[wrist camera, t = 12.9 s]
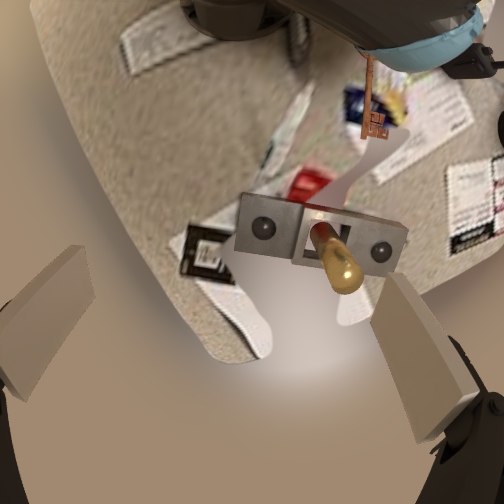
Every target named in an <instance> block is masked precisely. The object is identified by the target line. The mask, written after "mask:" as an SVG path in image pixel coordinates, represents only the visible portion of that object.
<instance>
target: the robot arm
mask: <svg viewBox="0 0 504 504" xmlns="http://www.w3.org/2000/svg"><path fill="white" fill-rule="evenodd" d="M479 1H481V0H180V4H181V8H182V11H183V13H184V14H185V16H186V17H187V19H188V20H189V22H190V23H191V24H192V25H193V26H194V27H195V28H196V29H197V30H199V31H200V32H202V33H204V34H206V35H208V36H211V37H213V38H217V39H221V40H228V41H245V40H252V39H256V38H260V37H263V36H266V35H268V34H270V33H272V32H274V31H276V30H277V29H279V28H280V27H281V26H283V25H284V24H285V23H286V22H287V21H288V19H289V18H290V17H291V15H292V13H293V11H295V12H297V13H299V14H301V15H303V16H305V17H307V18H309V19H311V20H313V21H315V22H317V23H318V24H320V25H322V26H324V27H326V28H327V29H329V30H331V31H333V32H334V33H336V34H338V35H339V36H341V37H342V38H344V39H346V40H347V41H349V42H350V43H352V44H353V45H354V46H355V48H357V49H358V50H359V51H361V52H363V53H367V54H370V55H371V56H373V57H374V58H376V59H377V60H379V61H380V62H382V63H383V64H384V65H386V66H387V67H389V68H391V69H393V70H395V71H398V72H407V73H417V72H423V71H427V70H431V69H433V68H436V67H438V66H441V65H443V64H445V63H447V62H449V61H451V60H452V59H454V58H455V57H457V56H458V55H460V54H461V53H463V52H464V51H465V50H466V49H467V48H468V47H469V46H470V45H471V44H472V43H473V42H472V39H473V38H475V37H477V36H479V34H480V32H481V30H482V27H483V17H482V14H481V13H480V9H479V8H478V6H477V5H476V4H477V3H478V2H479ZM94 299H95V295H94V291H93V287H92V282H91V278H90V273H89V269H88V264H87V259H86V253H85V248H84V246H76V245H71V246H69V247H68V248H67V249H66V250H65V251H64V252H63V253H61V254H60V255H59V256H58V257H57V258H56V259H54V260H53V261H52V262H51V263H50V264H49V265H48V266H47V267H46V268H44V269H43V270H42V271H41V272H40V273H39V274H38V275H37V276H36V277H35V278H34V279H33V280H32V281H31V282H30V283H28V284H27V285H26V286H25V287H24V288H23V289H22V290H21V291H20V292H19V293H18V294H17V296H15V297H14V298H13V299H12V300H10V301H9V302H7V303H6V304H5V305H4V306H3V307H2V308H1V310H0V504H29V502H28V499H27V496H26V493H25V490H24V487H23V484H22V481H21V477H20V474H19V470H18V466H17V462H16V458H15V453H14V449H13V445H12V440H11V433H10V427H9V421H8V413H7V405H6V397H5V393H4V392H3V390H2V389H3V388H4V386H6V387H7V388H8V390H9V391H10V392H11V394H12V395H13V396H15V397H16V398H18V399H20V400H22V401H24V402H27V400H28V398H29V396H30V395H31V393H32V391H33V389H34V388H35V386H36V384H37V383H38V381H39V379H40V378H41V376H42V374H43V373H44V371H45V370H46V368H47V366H48V365H49V363H50V362H51V360H52V358H53V357H54V356H55V354H56V353H57V351H58V349H59V348H60V347H61V345H62V343H63V342H64V341H65V339H66V338H67V336H68V335H69V333H70V332H71V330H72V329H73V328H74V326H75V325H76V323H77V322H78V320H79V319H80V318H81V316H82V315H83V314H84V312H85V311H86V309H87V308H88V307H89V305H90V304H91V303H92V301H93V300H94ZM370 324H371V326H372V328H373V331H374V333H375V335H376V338H377V340H378V342H379V345H380V347H381V349H382V352H383V354H384V357H385V359H386V361H387V364H388V366H389V369H390V371H391V374H392V376H393V379H394V381H395V384H396V387H397V389H398V392H399V394H400V397H401V400H402V403H403V405H404V408H405V411H406V414H407V417H408V419H409V422H410V425H411V428H412V431H413V434H414V437H415V440H416V443H417V445H418V444H422V443H425V442H429V441H432V440H435V438H437V437H438V436H439V435H440V434H441V433H442V432H443V431H444V433H445V435H446V437H445V438H444V439H443V440H442V441H441V442H440V443H439V444H438V445H436V446H435V447H434V448H433V449H432V450H431V452H430V454H433V453H434V452H435V451H436V450H438V449H439V450H438V453H437V454H436V455H435V456H436V459H435V461H434V463H433V466H432V469H431V471H430V473H429V476H428V478H427V480H426V482H425V484H424V487H423V489H422V491H421V493H420V495H419V497H418V499H417V501H416V503H415V504H504V397H503V396H502V395H501V394H499V393H496V392H488V391H487V389H486V387H485V386H484V384H483V382H482V380H481V379H480V377H479V375H478V373H477V372H476V370H475V369H474V367H473V365H472V364H470V360H469V359H468V357H467V356H465V352H464V351H463V349H462V348H461V346H460V344H459V343H458V342H457V341H455V340H454V339H453V338H452V337H451V336H447V335H446V333H445V332H444V330H443V329H442V327H441V326H440V324H439V323H438V321H437V320H436V318H435V317H434V315H433V314H432V312H431V311H430V310H429V308H428V307H427V305H426V304H425V303H424V301H423V300H422V298H421V297H420V296H419V294H418V293H417V291H416V290H415V289H414V287H413V286H412V285H411V283H410V282H409V281H408V279H407V278H406V277H405V276H404V274H403V273H394V272H388V274H387V277H386V280H385V283H384V286H383V289H382V291H381V294H380V297H379V300H378V303H377V305H376V308H375V311H374V313H373V316H372V318H371V321H370Z"/></svg>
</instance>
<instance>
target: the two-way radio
mask: <svg viewBox="0 0 504 504" xmlns="http://www.w3.org/2000/svg"><path fill="white" fill-rule="evenodd" d="M491 54H493V50H492V49H491V48H490V47H485V46H484V45H483V44H481V43H472V44H471V45H470V46H469V47H468V48H467V49H466V50H465V51H464V52H463V53H461V54H460V55H458V56H457V57H455V58H454V59H452V60H451V61H449V62H447V63H445V64H443V65H442V67H443V68H444V70H445V71H446V72H447V73H448V75H449V76H450V77H451V78H453V79H481V78H489V77H492V76H494V75H495V74H496V72H497V70H498V69H502V68H504V61H497V62H495V61H494V59H493V57H492V56H491Z"/></svg>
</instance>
